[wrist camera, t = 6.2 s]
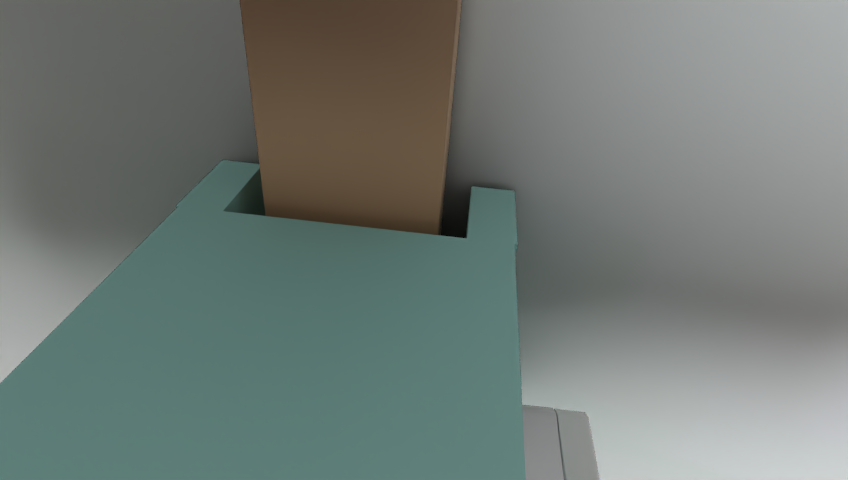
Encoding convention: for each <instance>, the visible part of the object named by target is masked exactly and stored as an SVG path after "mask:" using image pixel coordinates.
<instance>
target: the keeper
mask: <svg viewBox="0 0 848 480" xmlns="http://www.w3.org/2000/svg"><path fill="white" fill-rule="evenodd" d="M517 245H518V241H517V224H516V206H515V191H511V190H502V189H492V188H483V187H473V186H472V187H471V196H470V204H469V212H468V220H467V229H466V237H465V238H458V237H449V236H440V235H432V234H423V233H414V232H405V231H396V230H387V229H378V228H369V227H360V226H351V225H342V224H333V223H324V222H315V221H306V220H297V219H288V218H279V217H270V216H266V215H265V207H264V198H263V190H262V182H261V173H260V165H259V164H255V163H246V162H236V161H227V160H222V161H221V162H220V163H219V164H218V165H217V166H216V167H215V168H214V169H213V170H212V171H211V172H210V173H209V174H208V175H207V176H206V177H205V178H204V179H203V180H201V181H200V182H199V183H198V184H197V185H196V186H195V187H194V188H193V189H192V190H191V191H190V192H189V193H188V194H187V195H186V196H185V197H184V198H183V199H182V200H181V201H180V202H179V203H178V204H177V205H176V209H175V210H174V211H173V212H172V213H171V214H170V215H169V216H168V217H167V218H166V219H165V220H164V221H163V222H162V223H161V224H160V225H159V226H158V227H157V228H156V229H155V230H154V231H153V232H152V233H151V234H150V235H149V236H148V237H147V238H146V239H145V240H144V241H143V242H142V243H141V244H140V245H139V246H138V247H137V248H136V249H135V250H134V251H133V252H132V253H131V254H130V255H129V256H128V257H127V258H126V259H125V260H124V261H123V262H122V263H121V264H120V265H119V266H118V267H117V268H116V269H115V270H114V271H113V272H112V273H111V274H110V275H109V276H108V277H107V278H106V279H105V280H104V281H103V282H102V283H101V284H100V285H99V286H98V287H97V288H96V289H95V290H94V291H93V292H92V293H91V294H90V295H89V296H88V297H87V298H86V299H85V300H84V301H83V302H82V303H81V304H80V305H79V306H78V307H77V308H76V309H75V310H74V311H73V312H72V313H71V314H70V315H69V316H68V317H67V318H66V319H65V320H64V321H63V322H62V323H61V324H60V325H59V326H58V327H57V328H55V329H54V330H53V331H52V332H51V333H50V334H49V335H48V336H47V337H46V338H45V339H44V340H43V341H42V342H41V343H40V344H39V345H38V346H37V347H36V348H35V349H34V350H33V351H32V352H31V353H30V354H29V355H28V356H27V357H26V358H25V359H24V360H23V361H22V362H21V363H20V364H19V365H18V366H17V367H16V368H15V369H14V370H13V371H12V372H11V373H10V374H9V375H8V376H7V377H6V378H5V379H4V380H3V381H2V382H1V383H0V480H526V475H525V454H524V433H523V412H522V391H521V370H520V349H519V328H518V307H517V286H516V265H515V256H516V250H517Z"/></svg>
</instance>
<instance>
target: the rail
mask: <svg viewBox="0 0 848 480" xmlns="http://www.w3.org/2000/svg"><path fill="white" fill-rule="evenodd" d="M461 5H462V0H240V7H241V16H242V24H243V32H244V41H245V49H246V57H247V65H248V74H249V82H250V90H251V99H252V107H253V115H254V124H255V132H256V140H257V148H258V157H259V165H260V173H261V182H262V190H263V198H264V207H265V215H266V216H270V217H279V218H288V219H297V220H306V221H315V222H324V223H333V224H342V225H351V226H360V227H369V228H378V229H387V230H396V231H405V232H414V233H423V234H432V235H440V236H441V226H442V215H443V204H444V193H445V182H446V171H447V160H448V149H449V138H450V127H451V116H452V105H453V94H454V83H455V71H456V60H457V49H458V38H459V27H460V16H461Z"/></svg>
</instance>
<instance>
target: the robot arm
mask: <svg viewBox="0 0 848 480" xmlns="http://www.w3.org/2000/svg"><path fill="white" fill-rule="evenodd" d="M522 412H523V433H524V454H525V475H526V480H600V478H599V472H598V467H597V461H596V456H595V450H594V445H593V440H592V434H591V429H590V423H589V418H588V416H587V415H586V413H585V412H577V411H569V410H560V409H553V408H548V407H539V406H530V405H522Z"/></svg>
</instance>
